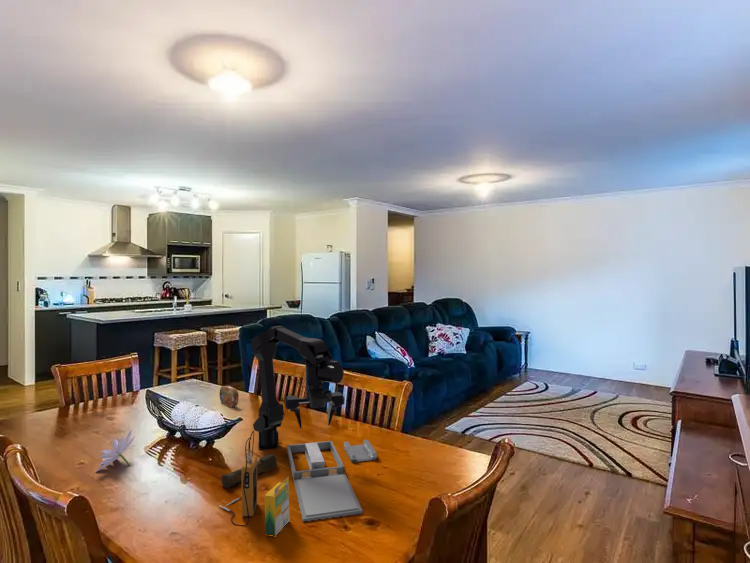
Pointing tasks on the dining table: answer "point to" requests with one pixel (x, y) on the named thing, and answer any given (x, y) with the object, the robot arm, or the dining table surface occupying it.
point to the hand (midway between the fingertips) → (314, 426)
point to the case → (323, 488)
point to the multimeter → (248, 484)
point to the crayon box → (277, 508)
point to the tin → (229, 396)
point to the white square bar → (314, 456)
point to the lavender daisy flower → (116, 451)
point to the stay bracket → (360, 452)
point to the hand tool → (262, 467)
